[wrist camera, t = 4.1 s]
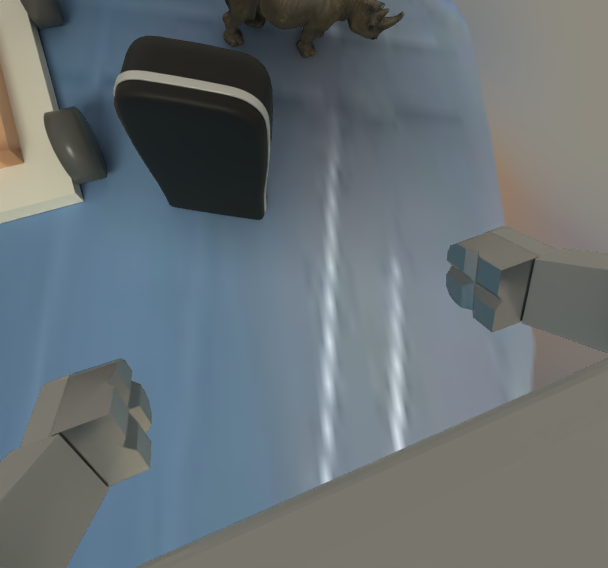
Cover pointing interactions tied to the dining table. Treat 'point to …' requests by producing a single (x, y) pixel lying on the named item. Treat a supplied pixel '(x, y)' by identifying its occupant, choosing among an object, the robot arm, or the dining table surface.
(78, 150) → the chassis
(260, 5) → the rhino figurine
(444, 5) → the dining table surface
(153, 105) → the battery charger
